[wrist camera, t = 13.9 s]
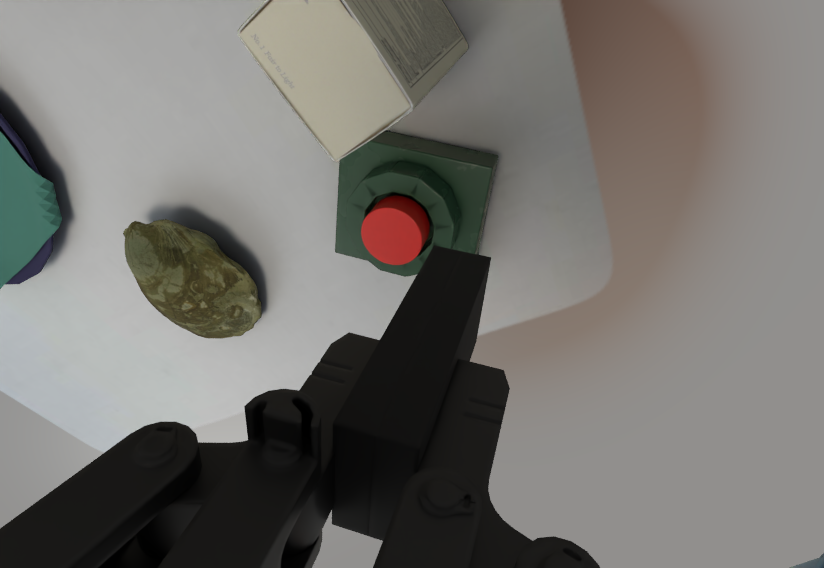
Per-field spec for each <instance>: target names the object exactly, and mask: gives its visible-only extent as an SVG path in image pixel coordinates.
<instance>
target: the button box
mask: <svg viewBox="0 0 824 568" xmlns="http://www.w3.org/2000/svg"><path fill="white" fill-rule="evenodd" d="M497 161H498V155H495V154H490V153H486V152H481V151H476V150H472V149H467V148H462V147H458V146H453V145H448V144H444V143H439V142H435V141H430V140H425V139H421V138H416V137H411V136H407V135H402V134H397V133H393V132H388V131H384V132H382V133H381V134H379V135H378V136H376V137H375V138H373V139H372V140H370V141H369V142H367V143H366V144H364V145H363V146H361V147H359V148H358V149H356V150H355V151H353V152H352V153H350V154H348V155H347V156H345V157H344V158H342V159H341V160H340V165H339V185H338V205H337V225H336V245H335V252H336V253H340V254H344V255H348V256H352V257H356V258H360V259H364V260H368V261H369V262H371V263H372V264H373V265H374V266H376V267H377V268H378V269H380V270H382V271H386V272H390V273H394V274H398V275H401V276H405V277H406V276H411V275H416V274H418V273H419V271H420V269H421V267H422V266H423V264H424V262H425V260H426V259H427V257H428V255H429V253H430V252H431V250H432V248H433V246H434V245H435V246H439V247H444V248H449V249H453V250H458V251H463V252H467V253H472V254H477V255H478V251H479V246H480V241H481V237H482V232H483V227H484V223H485V218H486V213H487V208H488V204H489V199H490V194H491V190H492V185H493V180H494V176H495V171H496V166H497ZM389 196H404V197H407V198H409V199H412V200H413V201H415V202H416V203H418V204H419V205H420V206H421V207H422V208H423V210H424V211H425V213H426V215H427V217H428V220H429V224H430V232H429V236H428V238H427V240H426V242H425V244H424V245H423V247H422V249H421V251H420V253H419V254H418V256H417V257H416V258H415V259H414V260H412V261H411V262H408V263H406V264H402V265H391V264H387V263H384V262H381V261H380V260H378V259H376V258H375V257H374V256H373V255H371V254H370V252H369V251H368V250H367V249H366V247H365V245H364V243H363V240H362V235H361V227H362V223H363V221H364V219H365V217H366V216H367V215H368V214H369V212H370V211H371V210H372V209H373V207H374V206H375V205H376V204H377V203H378V202H379V201H380V200H382V199H383V198H386V197H389Z"/></svg>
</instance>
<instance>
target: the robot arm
mask: <svg viewBox="0 0 824 568" xmlns="http://www.w3.org/2000/svg"><path fill="white" fill-rule="evenodd" d="M490 261H491V257H486V256H481V255H477V254H472V253H467V252H463V251H458V250H453V249H449V248H444V247H439V246H435V245H434V246H433V248H432V250H431V252H430V253H429V255H428V257H427V259H426V260H425V262H424V264H423V266H422V267H421V269H420V271H419V273H418V274H417V276H416V278H415V280H414V281H413V283H412V285H411V287H410V288H409V290H408V292H407V294H406V296H405V297H404V299H403V301H402V303H401V304H400V306H399V308H398V310H397V311H396V313H395V315H394V317H393V318H392V320H391V322H390V324H389V325H388V327H387V329H386V331H385V332H384V334H383V336H382V338H381V339H380V340H376V339H372V338H369V337H365V336H361V335H357V334H353V333H348V334H346V335H344V336H343V337H341V338H340V339H338V340H337V341H335V342H333V343H332V344H331V345H330V347H329V348H328V349H327V351H326V352H325V354H324V355H323V357H322V358H321V361H320V362H319V363H318V364H317V366H316V367H315V369H314V370H313V371H312V375H310V376H309V377H308V379H307V380H306V382H305V383H304V385H303V386H302V388H301V389H300V390H299V391H297V390H289V389H279V390H272V391H268V392H265V393H263V394H261V395H259V396H256V397H255V398H253V399H252V400H251V401H250V402H249V403H248V404H247V405H246V406H245V415H246V424H247V433H248V440H247V441H243V442H236V443H198V441H197V437H196V434H195V433H194V432H193V431H192V430H191V429H190V428H189V427H188V426H186V425H183V424H180V423H177V422H158V423H154V424H150V425H147V426H144V427H142V428H140V429H139V430H137V431H135V432H133V433H131V434H130V435H128V436H127V437H126V438H124V439H123V440H122V441H120V442H119V443H117V444H116V445H115V446H113V447H112V448H111V449H109V450H108V451H106V452H105V453H104V454H102V455H101V456H100V457H98V458H97V459H95V460H94V461H93V462H91V463H90V464H89V465H87V466H86V467H84V468H83V469H82V470H80V471H79V472H78V473H76V474H75V475H73V476H72V477H71V478H69V479H68V480H67V481H65V482H64V483H62V484H61V485H60V486H58V487H57V488H56V489H54V490H53V491H51V492H50V493H49V494H47V495H46V496H44V497H43V498H42V499H40V500H39V501H38V502H36V503H35V504H33V505H32V506H31V507H29V508H28V509H27V510H25V511H24V512H22V513H21V514H20V515H18V516H17V517H16V518H14V519H13V520H11V521H10V522H9V523H7V524H6V525H5V526H3V527H2V528H1V529H0V568H312V566H313V564H314V562H315V560H316V557H317V555H318V553H319V551H320V547H321V542H322V528H323V526H324V524H325V522H326V520H327V518H328V516H329V513H330V512H331V510H332V524H333V525H336V526H339V527H342V528H345V529H348V530H352V531H355V532H358V533H361V534H364V535H367V536H370V537H373V538H376V539H379V540H382V541H383V543H382V545H381V548H380V551H379V554H378V556H377V559H376V561H375V564H374V566H373V568H600V567H599V565H598V564H597V563H596V561H595V560H594V559H593V558H592V557H591V556H590V555H589V553H587V551H585V550H584V549H582V548H581V547H579V546H578V545H576V544H574V543H573V542H571V541H568V540H565V539H561V538H557V537H544V538H537V539H536V540H534V541H532V540H530V539H529V538H527V537H526V536H524V535H523V534H521V533H520V532H518V531H517V530H515V529H514V528H512V527H511V526H510V525H509V524H507V523H506V522H505V521H504V520H503V519H502V518H501V517H500V516H499V514H498V513H497V512H496V511H495V509H494V507H493V505H492V503H491V501H490V496H489V492H488V485H489V477H490V473H491V468H492V464H493V460H494V455H495V451H496V446H497V442H498V438H499V433H500V429H501V424H502V420H503V415H504V411H505V407H506V402H507V398H508V393H509V389H510V388H509V385H508V382H507V379H506V376H505V373H504V370H501V369H497V368H493V367H489V366H485V365H481V364H477V363H473V362H469V361H470V358H471V355H472V352H473V349H474V346H475V343H476V339H477V334H478V328H479V322H480V317H481V311H482V306H483V300H484V294H485V289H486V283H487V278H488V272H489V266H490ZM790 568H824V554H822V555H821V557H820V558H817V559H814V560H811V561H808V562H806V563H803V564H799V565H796V566H793V567H790Z"/></svg>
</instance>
